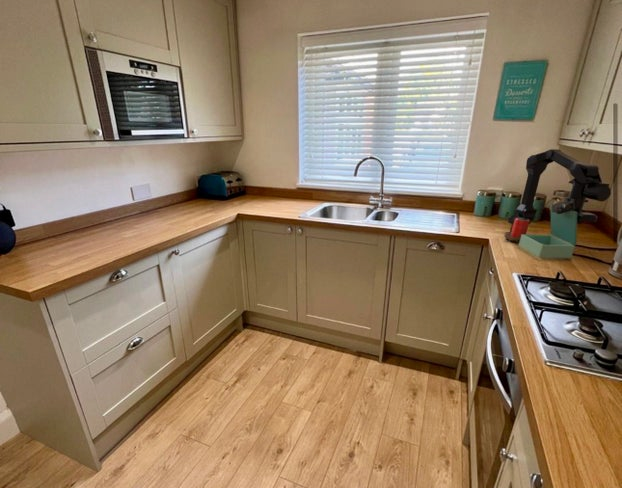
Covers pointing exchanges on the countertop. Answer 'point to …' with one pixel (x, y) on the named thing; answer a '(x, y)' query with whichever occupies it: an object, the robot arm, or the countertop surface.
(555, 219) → the lid
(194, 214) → the countertop surface
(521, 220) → the can
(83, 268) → the countertop surface
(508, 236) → the stool
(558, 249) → the green hinged box
